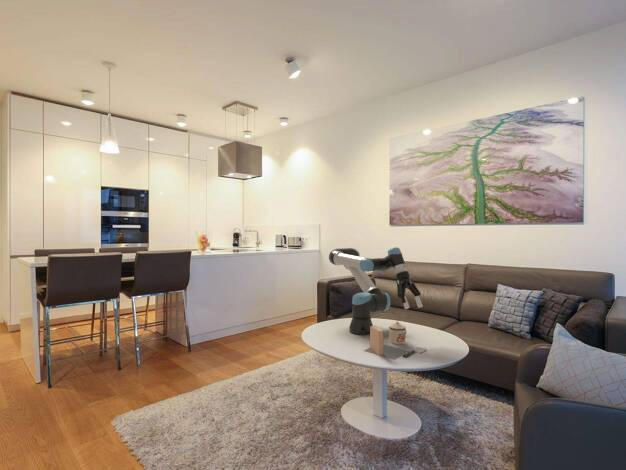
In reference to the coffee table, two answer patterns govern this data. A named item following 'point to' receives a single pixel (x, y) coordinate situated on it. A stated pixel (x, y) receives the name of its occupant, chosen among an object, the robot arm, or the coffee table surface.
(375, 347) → the tile
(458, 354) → the coffee table surface
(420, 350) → the turner
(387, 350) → the mat
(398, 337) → the teacup with lid
